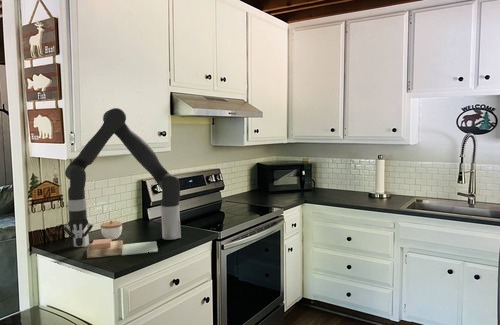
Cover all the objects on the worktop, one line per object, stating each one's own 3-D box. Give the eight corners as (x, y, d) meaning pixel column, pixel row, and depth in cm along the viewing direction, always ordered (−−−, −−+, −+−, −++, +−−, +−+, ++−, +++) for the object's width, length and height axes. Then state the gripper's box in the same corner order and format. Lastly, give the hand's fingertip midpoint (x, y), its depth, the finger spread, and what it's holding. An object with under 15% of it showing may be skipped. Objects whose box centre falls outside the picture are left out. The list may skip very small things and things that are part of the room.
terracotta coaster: (111, 242, 189) (111, 238, 189) (110, 247, 182) (110, 242, 182) (93, 244, 187) (93, 239, 187) (91, 249, 180) (91, 244, 179)
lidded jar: (124, 234, 214) (123, 217, 213) (121, 240, 204) (120, 222, 203) (103, 236, 213) (102, 219, 212) (99, 241, 202) (98, 223, 201)
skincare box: (89, 244, 198) (88, 220, 197) (85, 247, 193) (83, 223, 192) (77, 244, 198) (76, 220, 197) (73, 247, 194) (71, 223, 192)
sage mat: (156, 242, 199) (156, 241, 199) (157, 251, 184) (157, 250, 184) (123, 245, 195) (123, 244, 195) (121, 255, 180) (121, 254, 179)
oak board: (123, 246, 193) (122, 240, 193) (122, 254, 181) (121, 248, 181) (90, 249, 189) (89, 243, 189) (86, 258, 177) (86, 251, 177)
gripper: (93, 206, 186) (95, 242, 187) (63, 208, 182) (65, 244, 184) (92, 209, 178) (94, 246, 180) (60, 211, 175) (62, 249, 176)
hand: (79, 245), depth 182 cm, fingers closed
